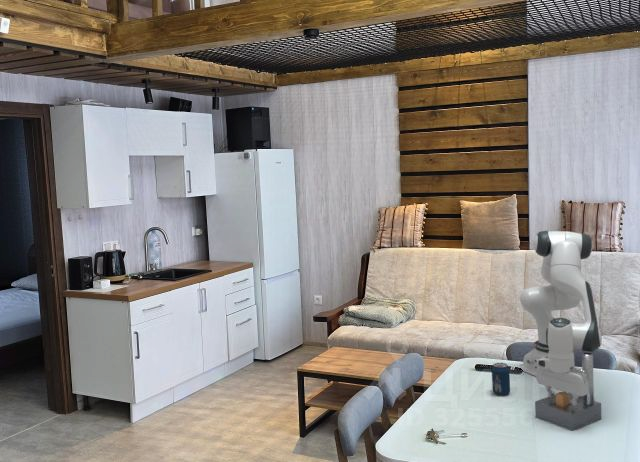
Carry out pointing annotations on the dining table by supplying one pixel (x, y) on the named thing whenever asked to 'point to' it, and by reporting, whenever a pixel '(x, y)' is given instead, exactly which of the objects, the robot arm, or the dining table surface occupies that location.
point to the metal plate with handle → (572, 415)
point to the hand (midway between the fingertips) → (562, 401)
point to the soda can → (500, 379)
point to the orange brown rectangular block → (562, 399)
